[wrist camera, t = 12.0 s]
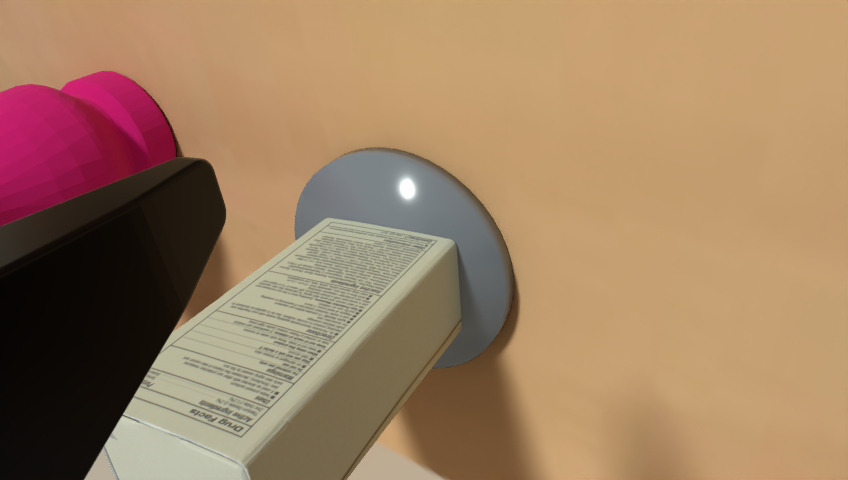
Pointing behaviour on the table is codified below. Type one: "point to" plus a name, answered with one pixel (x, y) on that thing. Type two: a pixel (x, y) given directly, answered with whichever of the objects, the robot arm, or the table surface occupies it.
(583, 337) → the table surface
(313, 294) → the skincare box
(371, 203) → the charcoal coaster
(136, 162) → the pepper mill
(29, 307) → the robot arm
